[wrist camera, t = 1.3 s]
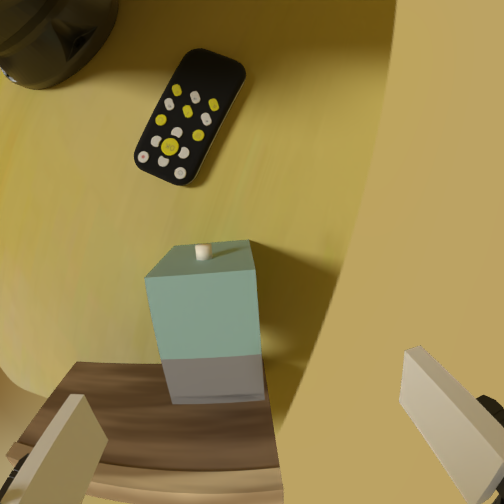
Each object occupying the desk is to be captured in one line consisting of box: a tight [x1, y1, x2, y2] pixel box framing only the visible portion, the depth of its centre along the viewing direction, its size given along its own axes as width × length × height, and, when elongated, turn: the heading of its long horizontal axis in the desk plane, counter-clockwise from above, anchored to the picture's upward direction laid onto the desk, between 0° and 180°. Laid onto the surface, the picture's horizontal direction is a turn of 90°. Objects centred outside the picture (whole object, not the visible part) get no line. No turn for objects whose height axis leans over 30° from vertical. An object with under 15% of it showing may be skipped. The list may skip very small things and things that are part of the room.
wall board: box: [6, 359, 284, 504], centre depth 23 cm, size 2×22×17 cm, turn 94°
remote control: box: [134, 48, 246, 185], centre depth 25 cm, size 6×13×2 cm, turn 154°
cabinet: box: [144, 240, 265, 404], centre depth 25 cm, size 11×7×10 cm, turn 4°
